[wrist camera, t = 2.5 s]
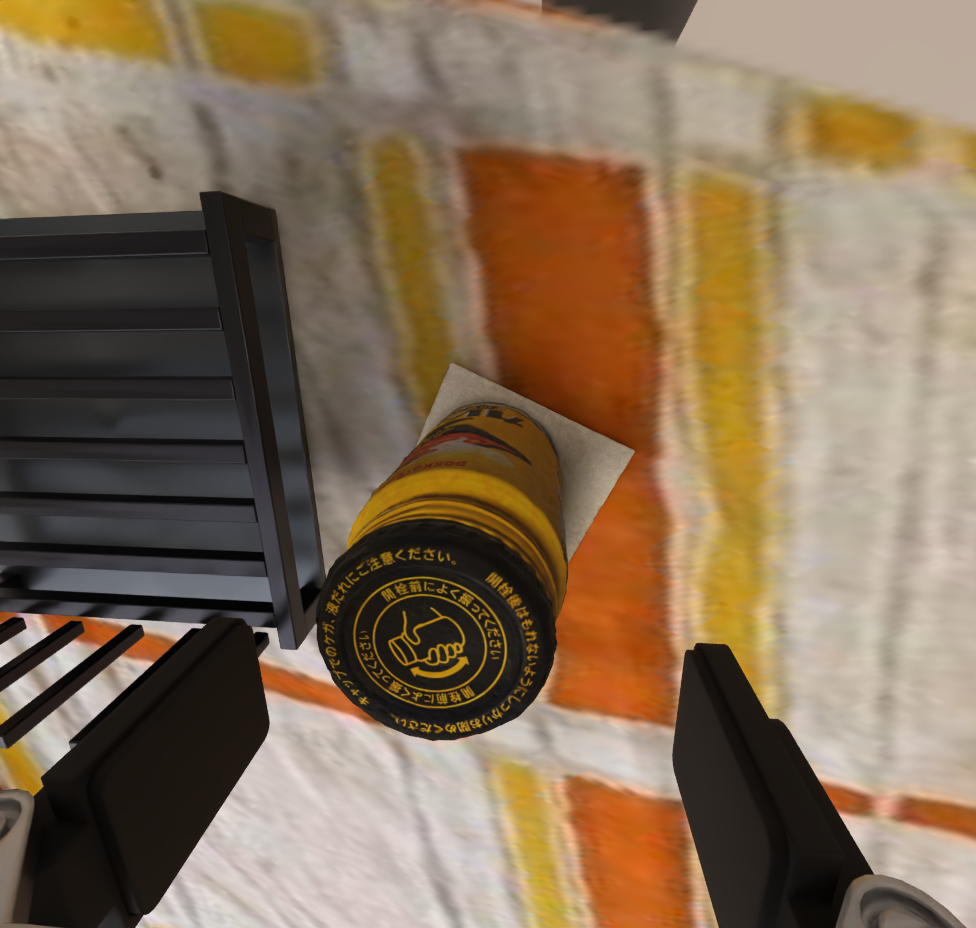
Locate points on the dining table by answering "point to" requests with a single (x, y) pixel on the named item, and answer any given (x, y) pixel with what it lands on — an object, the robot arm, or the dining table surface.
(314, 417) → the dining table surface
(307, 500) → the dish rack
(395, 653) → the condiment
